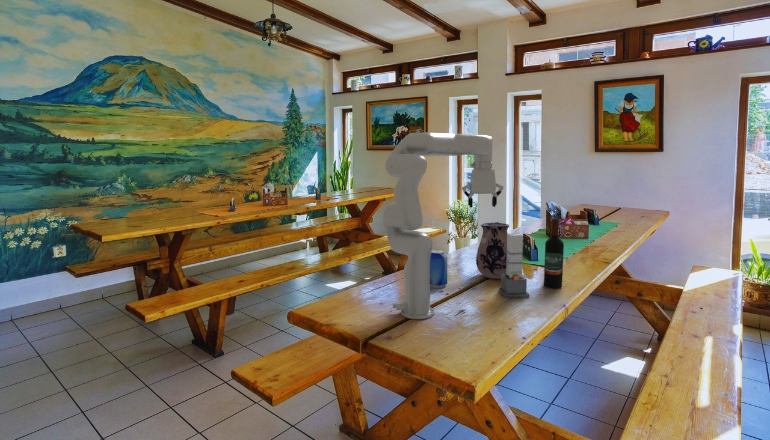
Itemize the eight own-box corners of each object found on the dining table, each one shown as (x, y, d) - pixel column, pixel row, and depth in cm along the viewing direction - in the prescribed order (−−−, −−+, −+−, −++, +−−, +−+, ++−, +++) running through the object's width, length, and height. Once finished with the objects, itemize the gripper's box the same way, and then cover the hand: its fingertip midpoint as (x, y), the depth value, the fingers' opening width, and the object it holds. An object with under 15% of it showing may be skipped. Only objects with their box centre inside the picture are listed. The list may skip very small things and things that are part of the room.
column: (509, 278, 190) (510, 235, 187) (505, 275, 195) (506, 233, 192) (522, 278, 190) (523, 235, 187) (518, 274, 195) (519, 233, 192)
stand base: (504, 298, 189) (505, 277, 187) (498, 290, 198) (498, 270, 197) (529, 297, 189) (529, 276, 187) (521, 289, 199) (522, 269, 197)
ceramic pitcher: (476, 281, 212) (477, 228, 207) (475, 268, 232) (475, 220, 228) (515, 282, 209) (517, 228, 204) (511, 269, 229) (512, 220, 225)
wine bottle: (564, 285, 203) (567, 218, 198) (557, 289, 197) (560, 221, 192) (548, 282, 208) (550, 216, 203) (540, 286, 203) (543, 219, 197)
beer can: (450, 284, 208) (450, 250, 206) (442, 289, 201) (442, 254, 199) (433, 281, 213) (433, 248, 210) (425, 286, 206) (424, 251, 203)
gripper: (463, 167, 187) (463, 208, 190) (506, 166, 188) (505, 207, 191) (460, 166, 195) (460, 206, 198) (501, 165, 195) (500, 205, 198)
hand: (482, 206), depth 194 cm, fingers open, 9 cm apart
